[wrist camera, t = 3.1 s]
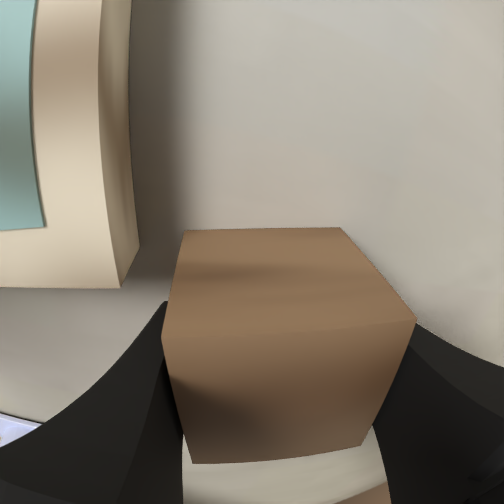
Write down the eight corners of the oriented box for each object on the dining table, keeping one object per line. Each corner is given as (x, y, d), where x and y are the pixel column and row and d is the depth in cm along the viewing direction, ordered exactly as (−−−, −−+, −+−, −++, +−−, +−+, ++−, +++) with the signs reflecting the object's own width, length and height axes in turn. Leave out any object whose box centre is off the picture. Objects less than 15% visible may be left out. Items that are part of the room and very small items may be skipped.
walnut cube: (321, 343, 12) (360, 445, 8) (195, 350, 12) (192, 463, 8) (339, 227, 10) (417, 318, 6) (184, 230, 10) (161, 336, 5)
